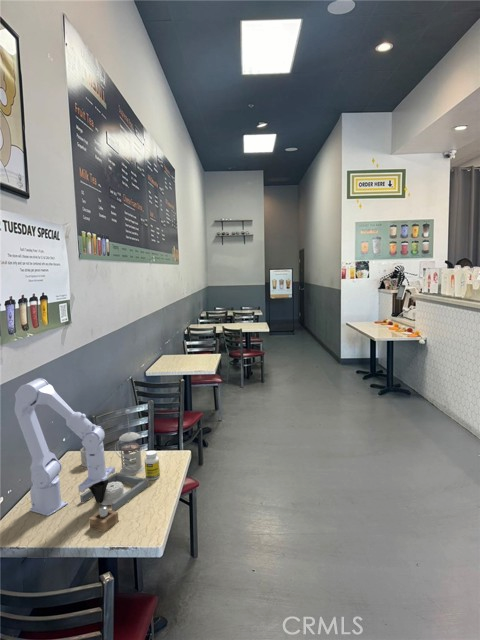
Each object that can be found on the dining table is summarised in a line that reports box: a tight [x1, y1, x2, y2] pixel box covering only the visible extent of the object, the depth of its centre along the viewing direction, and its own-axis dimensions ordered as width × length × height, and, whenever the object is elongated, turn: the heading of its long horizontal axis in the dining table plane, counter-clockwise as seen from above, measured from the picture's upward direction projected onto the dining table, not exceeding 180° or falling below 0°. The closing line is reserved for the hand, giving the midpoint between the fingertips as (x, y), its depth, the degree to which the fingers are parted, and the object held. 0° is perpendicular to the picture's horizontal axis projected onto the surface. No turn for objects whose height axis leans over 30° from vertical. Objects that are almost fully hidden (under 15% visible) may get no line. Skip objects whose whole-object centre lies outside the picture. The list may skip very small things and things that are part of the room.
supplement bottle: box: [144, 450, 161, 481], centre depth 153 cm, size 5×5×10 cm
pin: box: [98, 505, 108, 520], centre depth 123 cm, size 2×2×6 cm
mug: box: [79, 446, 87, 468], centre depth 170 cm, size 10×7×7 cm
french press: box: [114, 409, 145, 476], centre depth 160 cm, size 10×12×25 cm
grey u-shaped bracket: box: [79, 472, 149, 511], centre depth 142 cm, size 15×17×2 cm
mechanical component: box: [99, 481, 128, 506], centre depth 139 cm, size 10×4×10 cm
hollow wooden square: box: [88, 508, 119, 533], centre depth 124 cm, size 6×6×3 cm
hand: (99, 501), depth 135 cm, fingers closed
